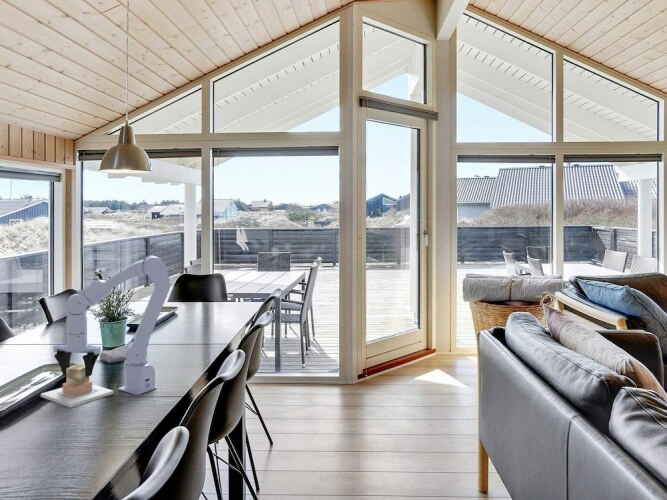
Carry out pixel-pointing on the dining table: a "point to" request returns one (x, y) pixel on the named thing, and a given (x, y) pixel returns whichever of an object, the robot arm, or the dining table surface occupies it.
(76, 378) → the maple block
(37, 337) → the dining table surface
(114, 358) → the stone block
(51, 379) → the dining table surface
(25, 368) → the dining table surface
